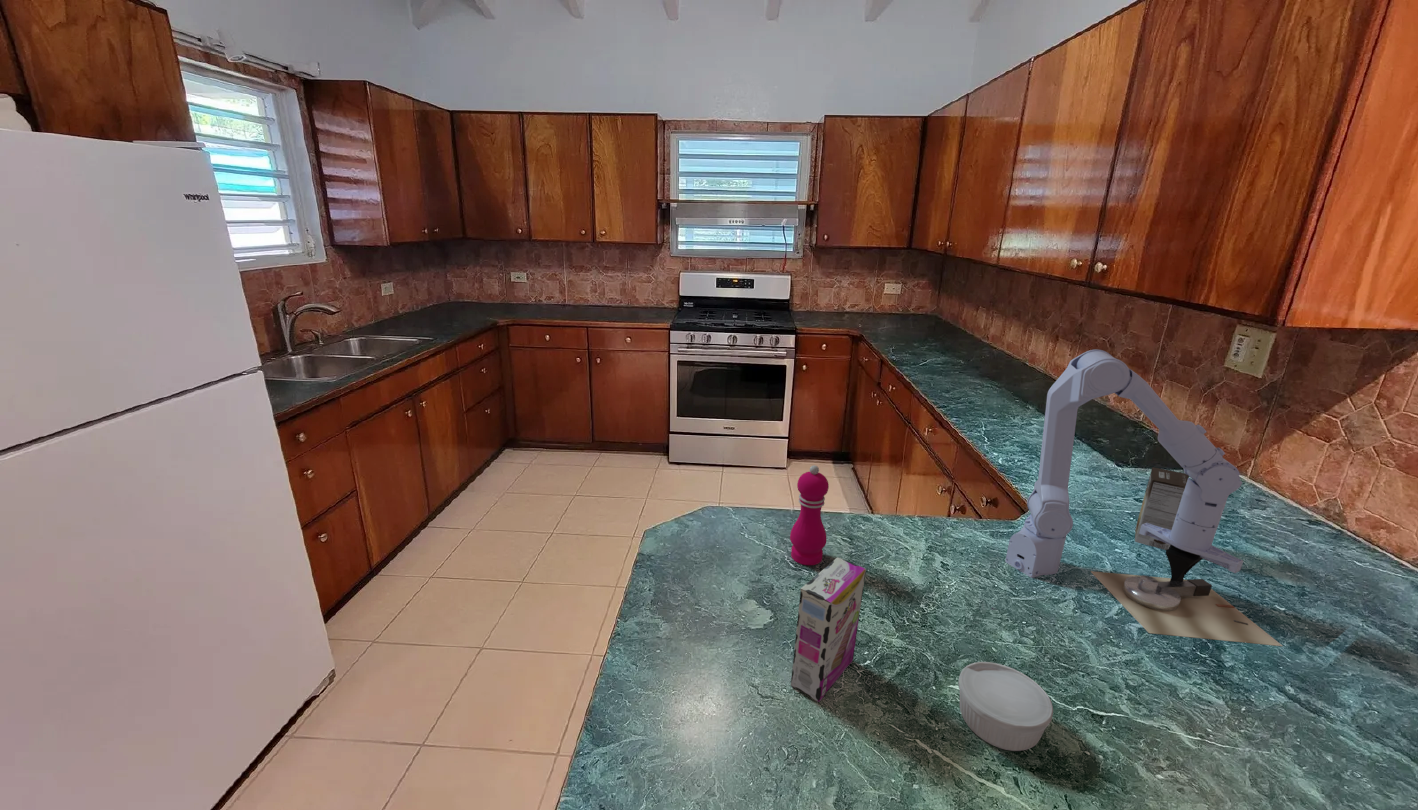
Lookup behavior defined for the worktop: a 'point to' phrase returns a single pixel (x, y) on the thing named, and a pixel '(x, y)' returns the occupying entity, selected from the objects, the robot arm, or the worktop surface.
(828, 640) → the candy bar box
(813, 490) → the pepper mill
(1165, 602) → the dial
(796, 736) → the worktop surface
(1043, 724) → the ramekin
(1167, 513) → the coffee box
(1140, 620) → the dial board
